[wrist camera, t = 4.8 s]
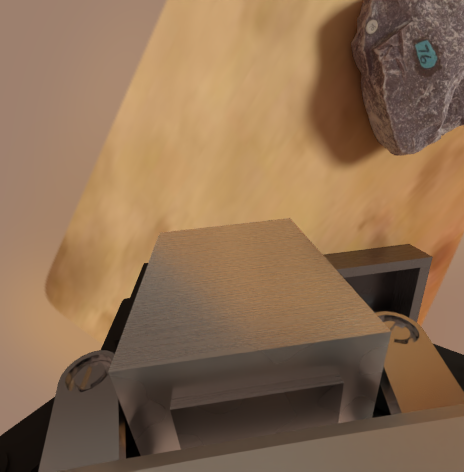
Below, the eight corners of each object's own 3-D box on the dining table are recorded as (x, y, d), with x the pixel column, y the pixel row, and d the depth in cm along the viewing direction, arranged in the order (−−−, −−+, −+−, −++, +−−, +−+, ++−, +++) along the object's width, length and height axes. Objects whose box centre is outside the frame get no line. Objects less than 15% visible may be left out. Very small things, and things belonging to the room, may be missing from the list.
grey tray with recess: (199, 270, 26) (199, 288, 23) (409, 244, 28) (433, 257, 25) (209, 340, 30) (211, 363, 27) (395, 313, 31) (415, 331, 28)
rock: (427, -45, 19) (492, -93, 15) (457, 108, 23) (513, 105, 19) (325, 24, 20) (359, -3, 16) (372, 159, 24) (408, 166, 20)
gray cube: (159, 232, 10) (104, 383, 4) (289, 218, 10) (399, 340, 5) (180, 333, 12) (161, 525, 6) (288, 319, 12) (362, 488, 7)
